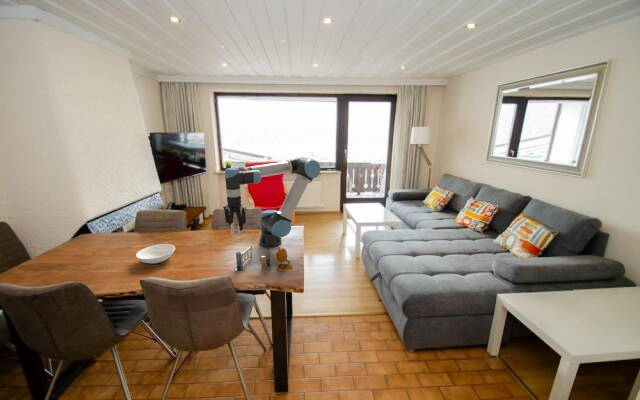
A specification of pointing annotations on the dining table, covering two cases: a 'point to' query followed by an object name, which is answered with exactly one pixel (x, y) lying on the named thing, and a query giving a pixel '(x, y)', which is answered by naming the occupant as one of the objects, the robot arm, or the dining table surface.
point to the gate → (247, 255)
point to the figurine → (282, 260)
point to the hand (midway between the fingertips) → (236, 234)
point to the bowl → (155, 253)
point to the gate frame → (263, 262)
